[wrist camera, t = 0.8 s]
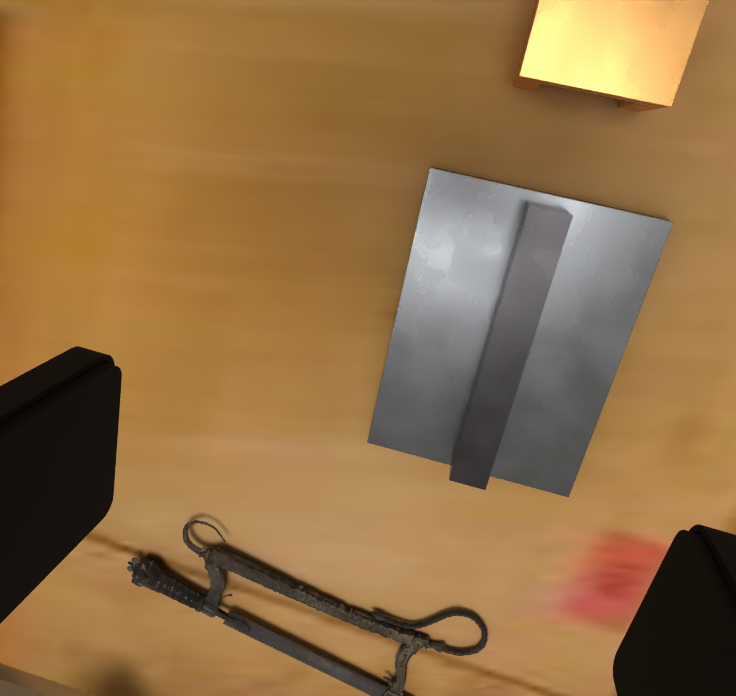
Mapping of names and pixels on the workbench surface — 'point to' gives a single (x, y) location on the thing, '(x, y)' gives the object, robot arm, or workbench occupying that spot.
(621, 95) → the tan wooden block
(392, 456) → the workbench surface
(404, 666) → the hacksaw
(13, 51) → the workbench surface
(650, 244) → the rail
